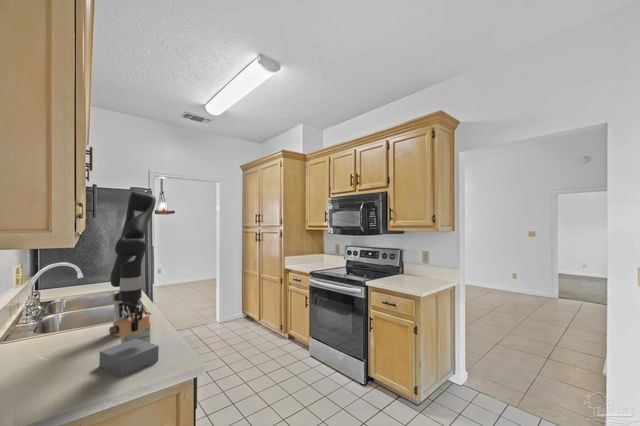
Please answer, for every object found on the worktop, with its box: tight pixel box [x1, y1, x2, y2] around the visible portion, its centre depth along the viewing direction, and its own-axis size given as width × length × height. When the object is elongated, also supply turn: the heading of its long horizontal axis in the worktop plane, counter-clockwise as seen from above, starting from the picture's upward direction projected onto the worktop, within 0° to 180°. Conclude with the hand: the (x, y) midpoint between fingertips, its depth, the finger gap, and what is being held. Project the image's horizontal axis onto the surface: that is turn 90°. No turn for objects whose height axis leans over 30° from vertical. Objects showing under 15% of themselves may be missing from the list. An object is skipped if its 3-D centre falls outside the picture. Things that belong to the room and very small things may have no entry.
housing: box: [108, 314, 150, 338], centre depth 116 cm, size 13×6×5 cm, turn 152°
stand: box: [98, 338, 160, 378], centre depth 116 cm, size 16×14×6 cm
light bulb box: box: [120, 321, 151, 344], centre depth 131 cm, size 11×7×11 cm, turn 135°
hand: (130, 329), depth 116 cm, fingers closed on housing, 5 cm apart
